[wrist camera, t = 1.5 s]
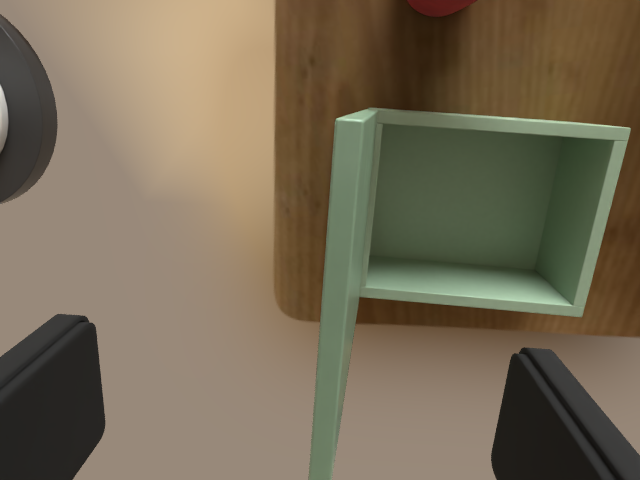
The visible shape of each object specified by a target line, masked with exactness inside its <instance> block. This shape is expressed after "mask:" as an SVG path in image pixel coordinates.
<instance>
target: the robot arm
mask: <svg viewBox="0 0 640 480" xmlns="http://www.w3.org/2000/svg"><path fill="white" fill-rule="evenodd" d="M8 122H9V121H8V109H7V104H6V100H5V96H4V92H3V90H2V87H1V85H0V153H1V151H2V149H3V147H4V144H5V141H6V138H7V132H8ZM104 429H105V414H104V404H103V394H102V384H101V374H100V365H99V354H98V345H97V334H96V327H95V325H94V324H93V323H89V320H88V318H87V317H85V316H80V315H66V314H57V315H55V316H54V317H53V318H51V319H50V320H49V321H47V322H46V323H45V324H43V325H42V326H41V327H39V328H38V329H37V330H35V331H34V332H33V333H32V334H30V335H29V336H28V337H26V338H25V339H24V340H22V341H21V342H19V343H18V344H17V345H16V346H14V347H13V348H12V349H10V350H9V351H8V352H6V353H5V354H4V355H2V356H1V357H0V480H72V479H73V478H74V477H75V475H76V473H77V472H78V471H79V470H80V468H81V467H82V465H83V464H84V462H85V461H86V460H87V458H88V457H89V455H90V454H91V453H92V451H93V450H94V448H95V447H96V445H97V444H98V443H99V441H100V439H101V438H102V435H103V433H104ZM491 461H492V468H493V471H494V474H495V477H496V479H497V480H640V455H639V454H638V453H637V452H636V451H635V449H634V448H633V447H632V446H631V444H630V443H629V442H628V441H627V440H626V439H625V437H624V436H623V435H622V434H621V432H620V431H619V430H618V429H617V428H616V427H615V425H614V424H613V423H612V422H611V420H610V419H609V418H608V417H607V416H606V414H605V413H604V412H603V411H602V410H601V408H600V407H599V406H598V405H597V404H596V403H595V401H594V400H593V399H592V398H591V396H590V395H589V394H588V393H587V392H586V390H585V389H584V388H583V387H582V386H581V384H580V383H579V382H578V381H577V379H576V378H575V377H574V376H573V375H572V373H571V372H570V371H569V370H568V369H567V367H566V366H565V365H564V364H563V363H562V361H561V360H560V359H559V358H558V357H557V356H556V354H555V353H554V352H553V351H552V350H549V349H536V348H522V349H521V351H520V352H519V354H513V355H512V357H511V360H510V365H509V370H508V374H507V379H506V385H505V389H504V395H503V399H502V404H501V409H500V414H499V419H498V424H497V428H496V433H495V439H494V444H493V448H492V455H491Z"/></svg>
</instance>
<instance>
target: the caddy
mask: <svg viewBox="0 0 640 480" xmlns="http://www.w3.org/2000/svg"><path fill="white" fill-rule="evenodd" d="M368 109H370V110H378V117H377V127H376V137H375V146H374V156H373V166H372V176H371V186H370V196H369V206H368V216H367V226H366V236H365V246H364V256H363V266H362V276H361V286H360V296H359V297H366V298H377V299H388V300H399V301H410V302H421V303H431V304H442V305H453V306H464V307H475V308H486V309H497V310H508V311H519V312H530V313H541V314H552V315H563V316H573V317H582V315H583V311H584V307H585V304H586V300H587V296H588V292H589V288H590V284H591V281H592V277H593V273H594V269H595V265H596V261H597V257H598V254H599V250H600V246H601V242H602V238H603V234H604V231H605V227H606V223H607V219H608V215H609V211H610V207H611V204H612V200H613V196H614V192H615V188H616V184H617V180H618V177H619V173H620V169H621V165H622V161H623V157H624V154H625V150H626V146H627V141H628V138H629V134H630V130H631V128H627V127H617V126H607V125H597V124H588V123H578V122H566V121H552V120H538V119H523V118H509V117H495V116H481V115H467V114H453V113H439V112H425V111H411V110H396V109H382V108H368Z"/></svg>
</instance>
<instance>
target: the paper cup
mask: <svg viewBox="0 0 640 480" xmlns="http://www.w3.org/2000/svg"><path fill="white" fill-rule="evenodd" d="M406 1H407V2H408V3H409V5H410V6H411V7H412V8H413V9H415V10H416V11H417V12H419V13H421V14H423V15H426V16H431V17H441V16H446V15H449V14H452V13H454V12H456V11H459V10H460V9H462V8H464V7H466V6H468V5H470V4H472V3H474V2H475V1H477V0H406Z"/></svg>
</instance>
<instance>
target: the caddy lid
mask: <svg viewBox="0 0 640 480" xmlns="http://www.w3.org/2000/svg"><path fill="white" fill-rule="evenodd" d="M377 117H378V110H370V109H366V110H362V111H359V112H356V113H353V114H349V115H346V116H343V117H340V118H337V119H336V120H335V130H334V143H333V157H332V170H331V184H330V197H329V211H328V224H327V237H326V251H325V264H324V278H323V291H322V305H321V318H320V332H319V333H320V334H319V345H318V358H317V372H316V385H315V386H316V387H315V400H314V413H313V426H312V439H311V454H310V466H309V480H332V475H333V468H334V461H335V455H336V449H337V442H338V435H339V429H340V422H341V416H342V408H343V402H344V396H345V389H346V382H347V376H348V369H349V363H350V356H351V350H352V343H353V337H354V329H355V323H356V317H357V310H358V304H359V296H360V286H361V276H362V266H363V256H364V246H365V236H366V226H367V216H368V206H369V196H370V186H371V176H372V166H373V156H374V146H375V137H376V127H377Z"/></svg>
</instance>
